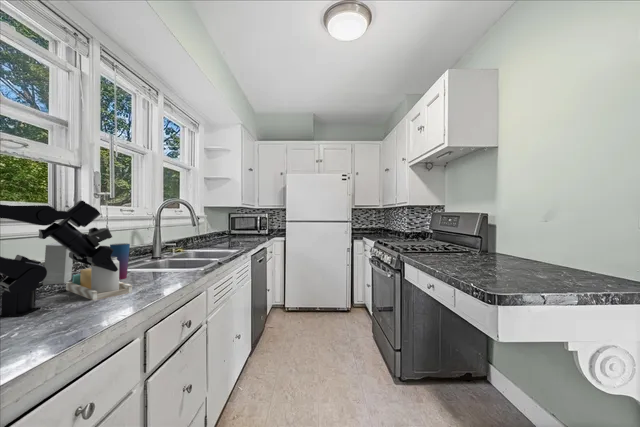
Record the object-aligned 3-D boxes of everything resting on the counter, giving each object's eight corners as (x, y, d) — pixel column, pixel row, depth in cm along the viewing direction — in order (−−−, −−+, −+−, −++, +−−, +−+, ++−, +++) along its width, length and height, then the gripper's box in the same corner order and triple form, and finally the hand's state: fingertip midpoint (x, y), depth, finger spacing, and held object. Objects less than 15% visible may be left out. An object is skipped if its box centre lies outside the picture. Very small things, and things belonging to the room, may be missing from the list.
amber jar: (97, 291, 98) (97, 271, 98) (74, 292, 97) (75, 271, 97) (109, 286, 105) (110, 267, 105) (88, 286, 104) (89, 267, 104)
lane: (131, 294, 97) (132, 285, 97) (93, 302, 88) (93, 292, 88) (102, 285, 109) (103, 277, 109) (65, 292, 99) (66, 282, 99)
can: (124, 290, 99) (124, 256, 99) (106, 297, 91) (106, 259, 91) (104, 290, 99) (104, 255, 99) (84, 296, 92) (85, 259, 92)
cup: (104, 281, 116) (105, 244, 116) (120, 278, 123) (121, 243, 123) (117, 282, 114) (118, 245, 114) (133, 279, 121) (133, 243, 121)
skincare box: (51, 282, 113) (52, 242, 113) (74, 281, 116) (75, 241, 116) (41, 287, 105) (42, 244, 105) (66, 285, 108) (67, 243, 108)
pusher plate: (101, 284, 106) (102, 271, 106) (73, 289, 99) (73, 275, 99) (100, 284, 107) (101, 271, 107) (72, 288, 100) (72, 275, 100)
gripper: (107, 220, 88) (143, 253, 97) (82, 219, 97) (117, 249, 107) (73, 247, 81) (116, 280, 90) (50, 243, 91) (91, 273, 100)
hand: (111, 269), depth 97 cm, fingers open, 8 cm apart
